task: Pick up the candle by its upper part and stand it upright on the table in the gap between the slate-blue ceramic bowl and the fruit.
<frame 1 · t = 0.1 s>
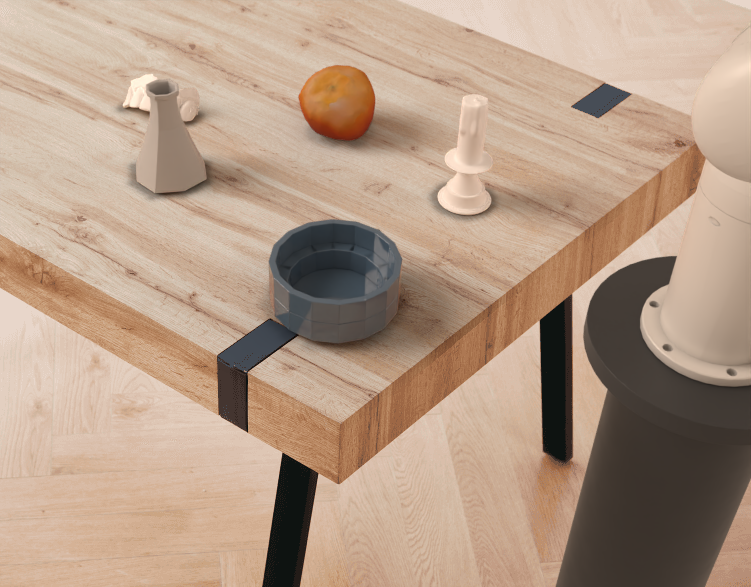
bowl: (334, 303, 95), on the table
fruit: (338, 131, 116), on the table
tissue: (163, 112, 117), on the table
flask: (171, 175, 108), on the table
candle: (464, 201, 107), on the table
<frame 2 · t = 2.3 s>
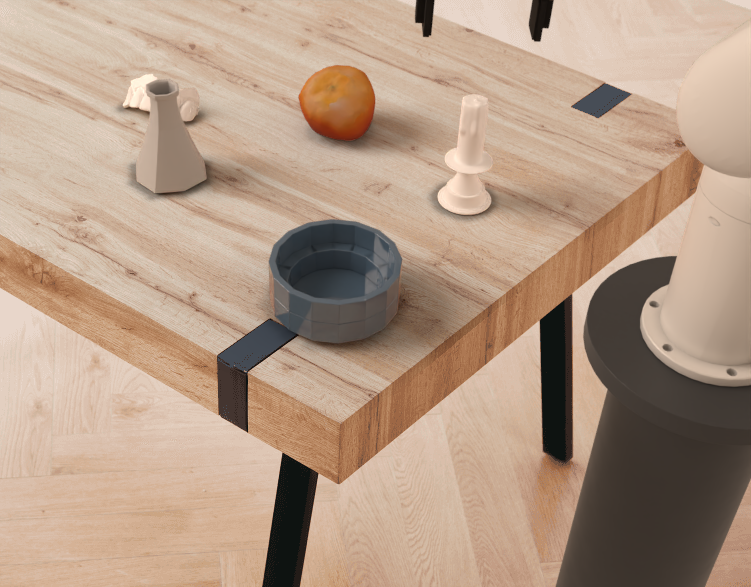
hand: (480, 32, 95), 18 cm above the table, tool pointing down, fingers open, 9 cm apart
nothing on the table moved.
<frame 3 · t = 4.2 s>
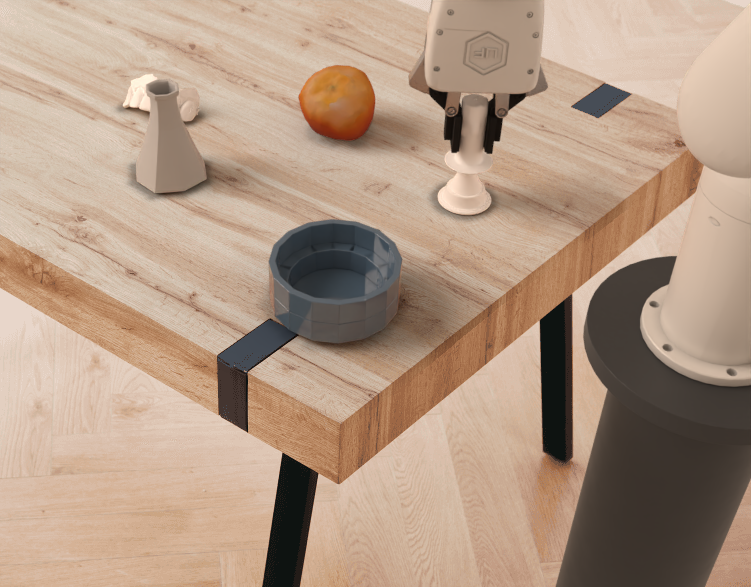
hand: (470, 144, 103), 7 cm above the table, tool pointing down, fingers closed on candle, 2 cm apart
candle: (464, 201, 107), on the table, touching gripper
everything else where it was.
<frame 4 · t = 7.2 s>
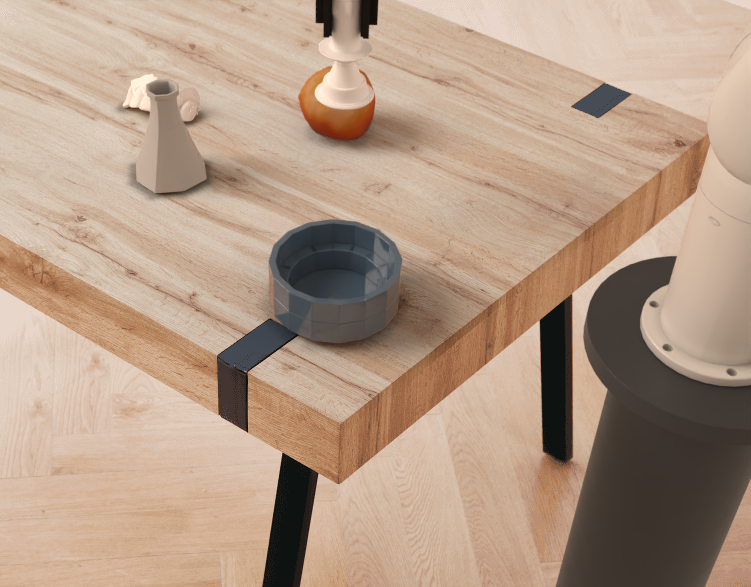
hand: (346, 29, 93), 19 cm above the table, tool pointing down, fingers closed on candle, 2 cm apart
candle: (344, 96, 97), point 12 cm above the table, touching gripper
everything else where it was.
when the fingers open (7 cm above the table, at t = 10.2 s): candle stays where it is, on the table.
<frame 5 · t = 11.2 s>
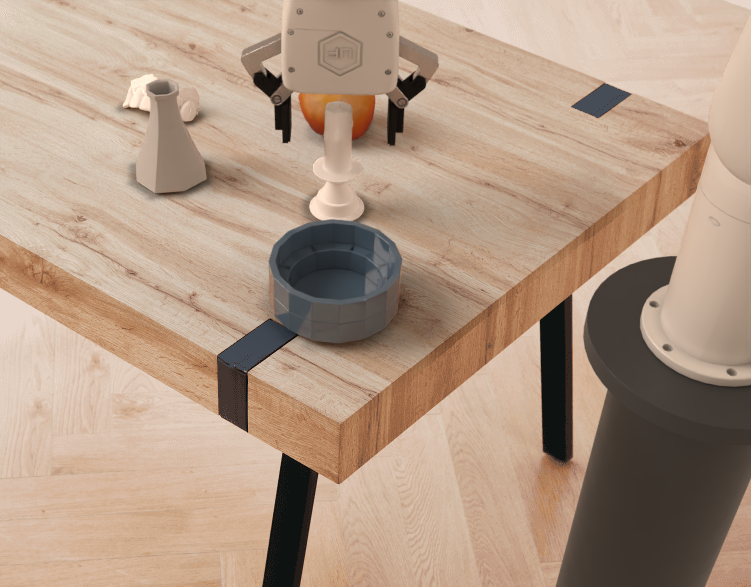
hand: (339, 136, 100), 8 cm above the table, tool pointing down, fingers open, 9 cm apart
candle: (336, 209, 105), on the table
everything else where it was.
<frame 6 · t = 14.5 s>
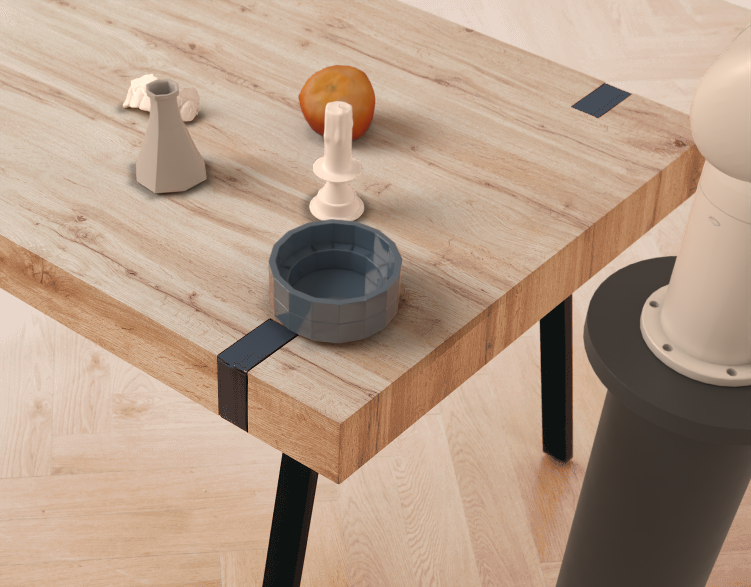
nothing on the table moved.
at the end: candle 13.9 cm from the bowl (horizontally); candle 13.9 cm from the fruit (horizontally); candle tilted 0° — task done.
